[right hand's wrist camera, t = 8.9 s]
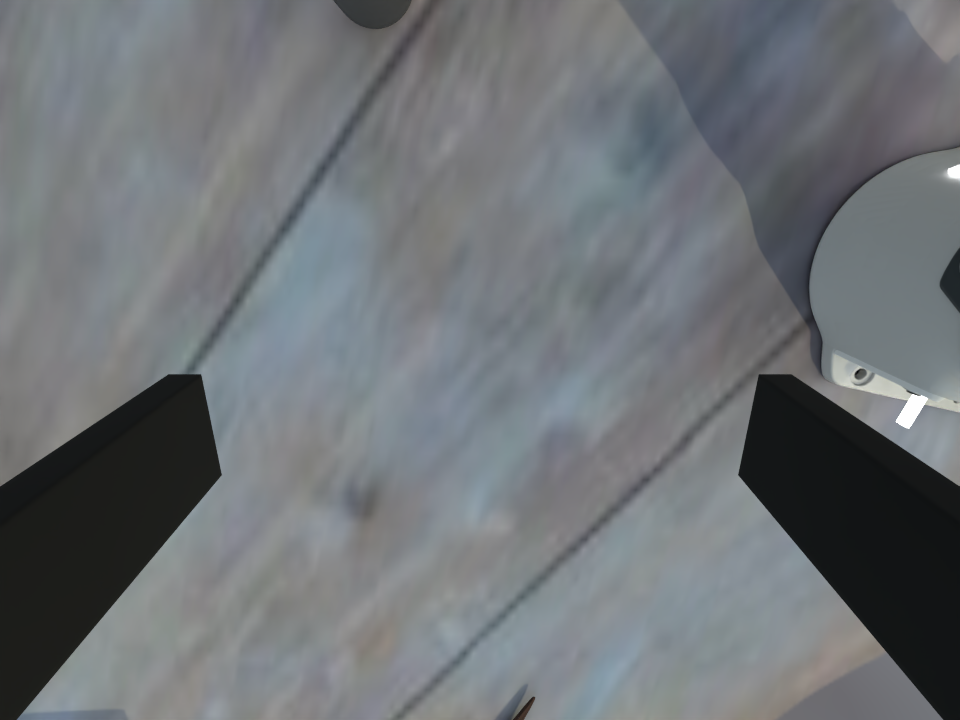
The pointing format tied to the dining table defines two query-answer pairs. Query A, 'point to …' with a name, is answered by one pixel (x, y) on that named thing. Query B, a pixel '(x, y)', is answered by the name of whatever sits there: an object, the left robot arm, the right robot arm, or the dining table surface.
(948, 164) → the left robot arm
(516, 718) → the fork
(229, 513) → the dining table surface
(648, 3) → the dining table surface
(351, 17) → the dark grey cylinder
